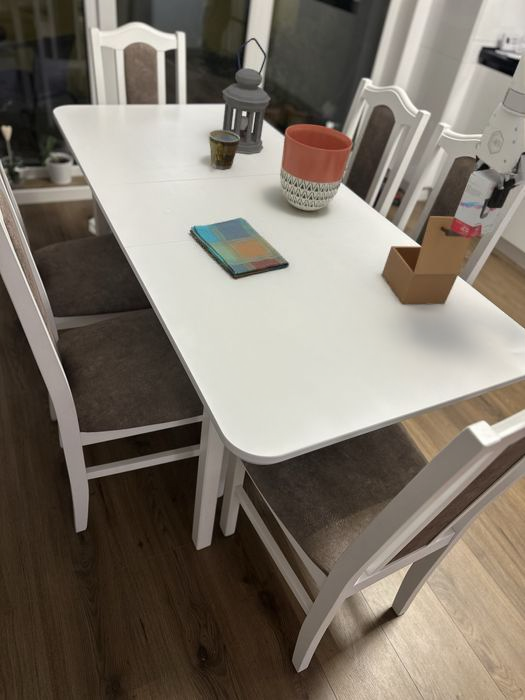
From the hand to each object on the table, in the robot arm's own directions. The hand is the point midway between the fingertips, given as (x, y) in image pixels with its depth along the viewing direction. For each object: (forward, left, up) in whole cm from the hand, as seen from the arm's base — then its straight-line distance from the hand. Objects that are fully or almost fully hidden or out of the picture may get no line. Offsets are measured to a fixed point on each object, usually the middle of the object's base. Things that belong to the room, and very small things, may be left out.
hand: (484, 198), depth 106 cm
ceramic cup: (+87, -32, -33) cm, 99 cm away
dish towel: (+51, +6, -33) cm, 62 cm away
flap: (+5, -11, -17) cm, 21 cm away
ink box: (0, 0, -7) cm, 7 cm away
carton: (+9, -14, -33) cm, 37 cm away
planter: (+53, -31, -33) cm, 70 cm away
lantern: (+95, -54, -33) cm, 115 cm away
